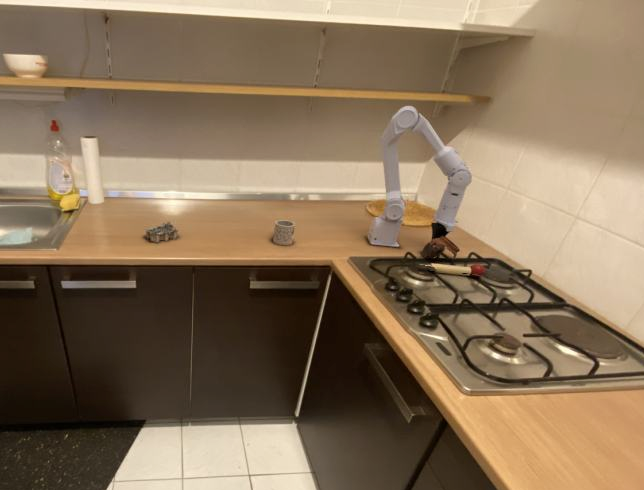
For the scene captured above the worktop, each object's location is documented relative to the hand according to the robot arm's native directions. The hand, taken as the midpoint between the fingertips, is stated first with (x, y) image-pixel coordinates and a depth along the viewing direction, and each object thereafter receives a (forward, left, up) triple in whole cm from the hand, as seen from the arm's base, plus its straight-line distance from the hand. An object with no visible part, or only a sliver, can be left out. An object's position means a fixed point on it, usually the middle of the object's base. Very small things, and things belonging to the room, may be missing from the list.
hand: (434, 244), depth 131 cm
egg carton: (-93, -14, -3) cm, 94 cm away
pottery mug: (-1, -6, -3) cm, 7 cm away
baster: (-1, -18, -2) cm, 18 cm away
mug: (-52, -4, -3) cm, 52 cm away
